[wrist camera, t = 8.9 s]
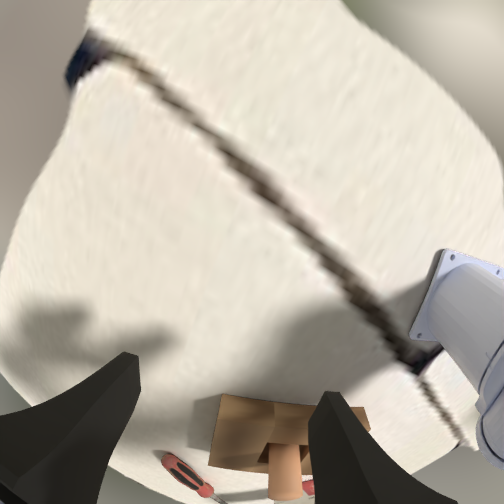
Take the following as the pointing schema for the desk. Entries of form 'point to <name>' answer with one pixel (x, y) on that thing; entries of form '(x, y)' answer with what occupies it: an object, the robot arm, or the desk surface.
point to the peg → (284, 472)
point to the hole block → (261, 432)
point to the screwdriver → (188, 477)
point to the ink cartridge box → (308, 498)
